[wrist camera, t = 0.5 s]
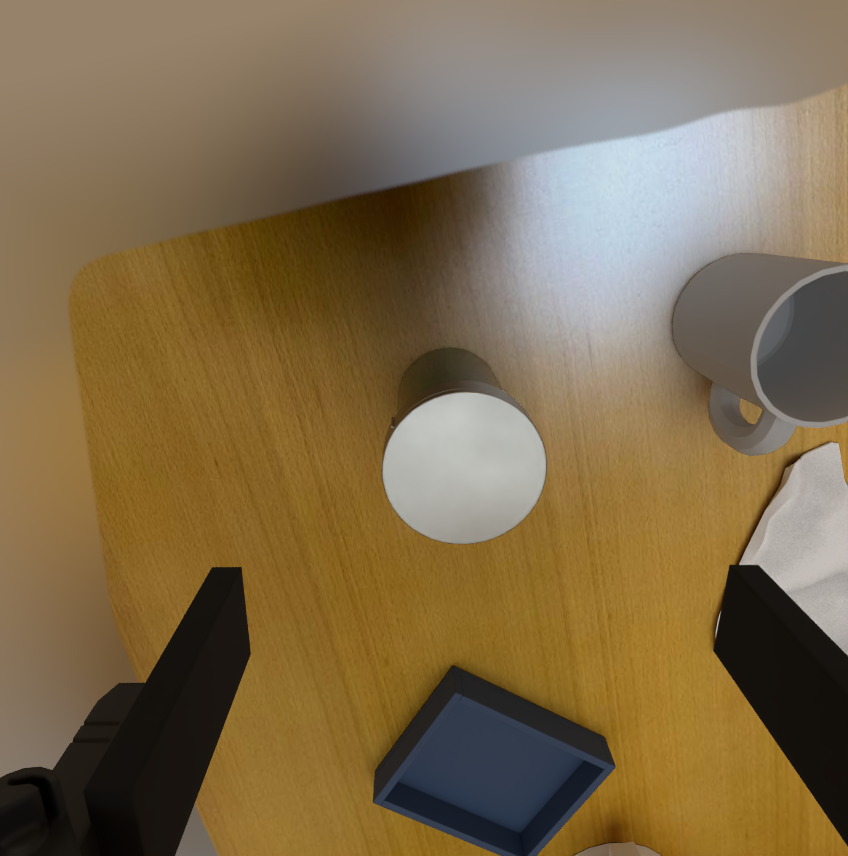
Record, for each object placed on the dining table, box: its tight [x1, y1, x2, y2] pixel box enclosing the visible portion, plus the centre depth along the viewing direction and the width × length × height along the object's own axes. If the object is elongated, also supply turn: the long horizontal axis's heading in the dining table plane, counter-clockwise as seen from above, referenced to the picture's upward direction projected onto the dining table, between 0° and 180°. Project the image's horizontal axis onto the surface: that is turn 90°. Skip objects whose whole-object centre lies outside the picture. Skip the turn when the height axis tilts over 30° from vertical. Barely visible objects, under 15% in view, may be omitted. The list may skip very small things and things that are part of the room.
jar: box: [397, 348, 502, 413], centre depth 31 cm, size 6×6×10 cm
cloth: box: [716, 442, 848, 655], centre depth 41 cm, size 26×14×2 cm, turn 12°
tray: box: [373, 666, 616, 856], centre depth 44 cm, size 13×11×3 cm
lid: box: [382, 380, 547, 544], centre depth 27 cm, size 7×7×2 cm
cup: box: [672, 253, 848, 456], centre depth 31 cm, size 7×10×9 cm
